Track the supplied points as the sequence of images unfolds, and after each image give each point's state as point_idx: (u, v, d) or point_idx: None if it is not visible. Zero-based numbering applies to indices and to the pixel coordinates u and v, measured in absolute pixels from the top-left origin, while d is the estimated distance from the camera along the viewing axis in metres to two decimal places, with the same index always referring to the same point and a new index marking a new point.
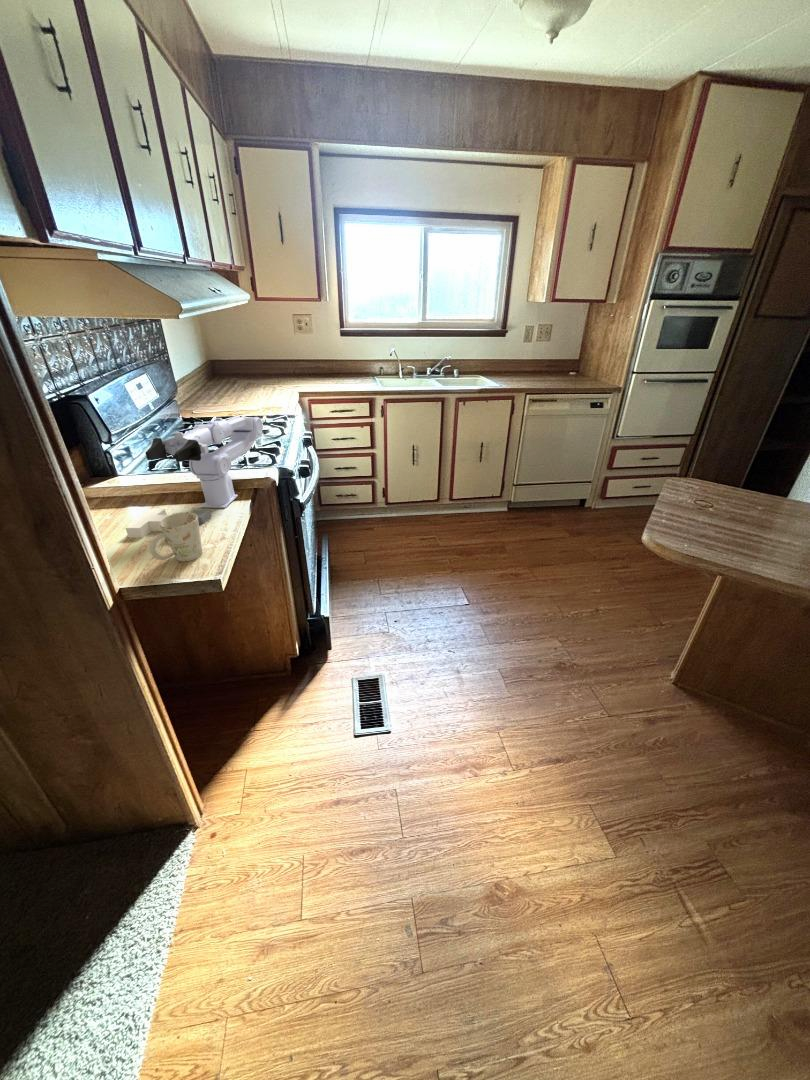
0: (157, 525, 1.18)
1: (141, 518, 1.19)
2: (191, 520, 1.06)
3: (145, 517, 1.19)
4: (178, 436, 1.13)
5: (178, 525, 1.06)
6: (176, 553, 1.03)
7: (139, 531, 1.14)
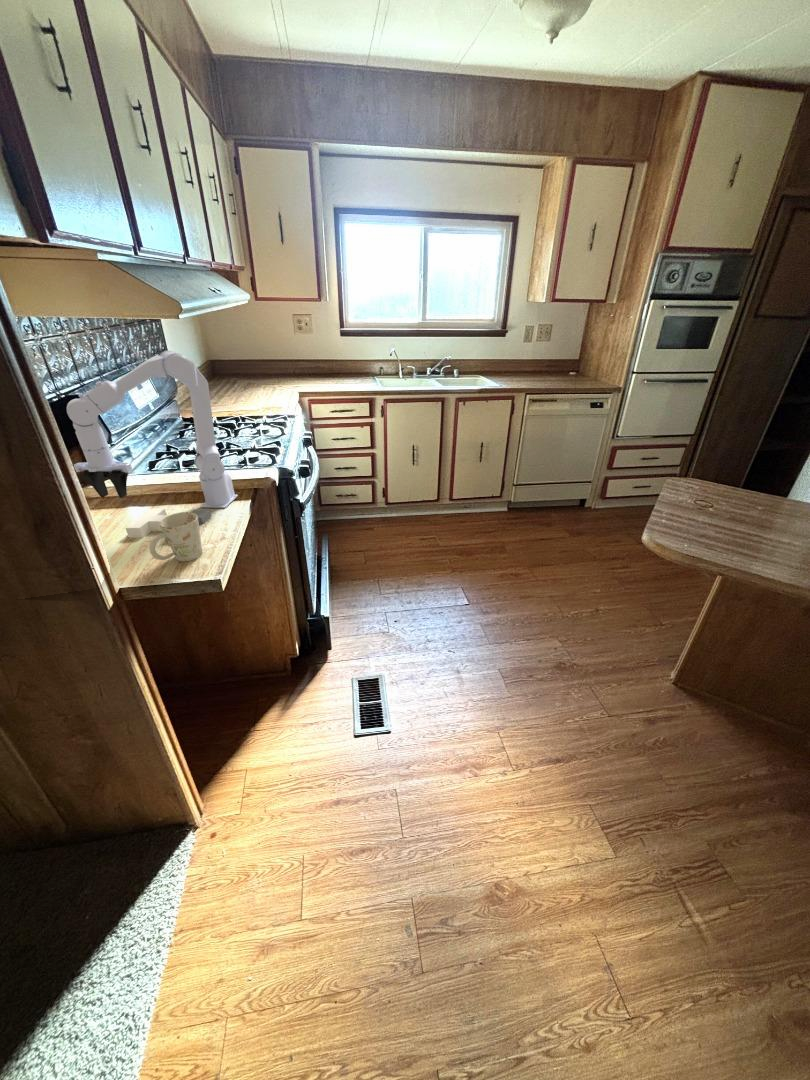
0: (157, 525, 1.18)
1: (141, 518, 1.19)
2: (191, 520, 1.06)
3: (145, 517, 1.19)
4: None
5: (178, 525, 1.06)
6: (176, 553, 1.03)
7: (139, 531, 1.14)
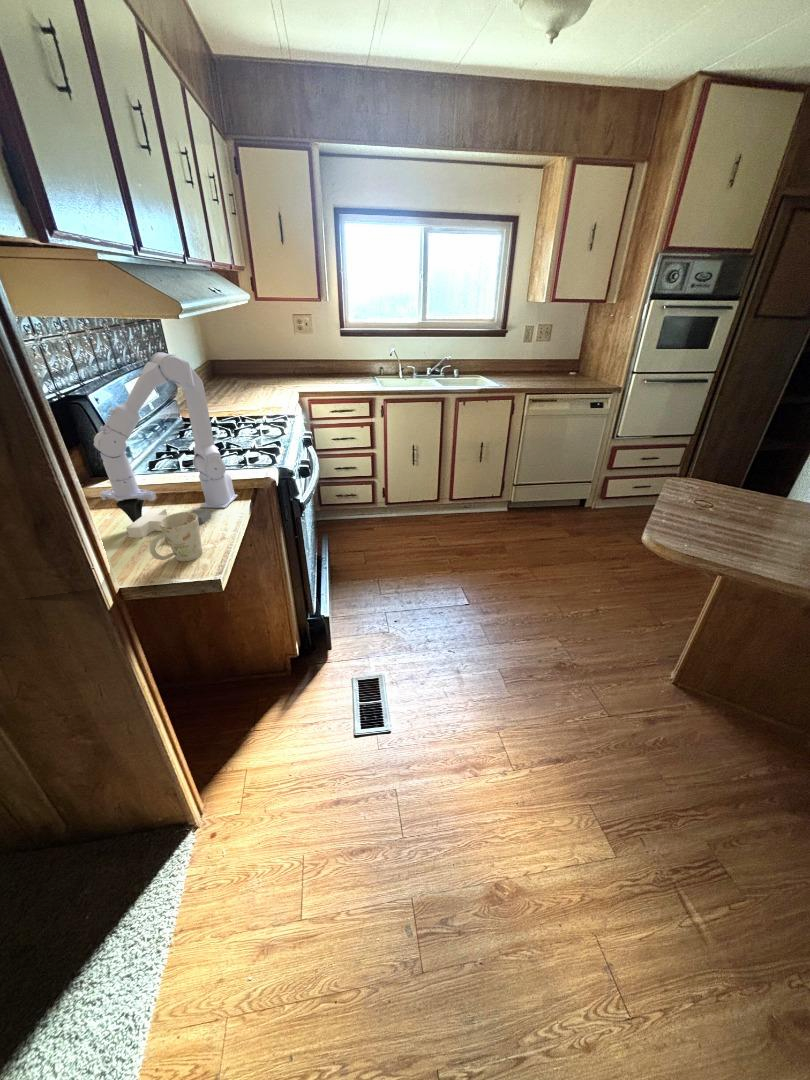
0: (157, 525, 1.17)
1: (142, 518, 1.19)
2: (191, 520, 1.06)
3: (146, 517, 1.19)
4: None
5: (178, 525, 1.06)
6: (176, 553, 1.03)
7: (140, 531, 1.14)
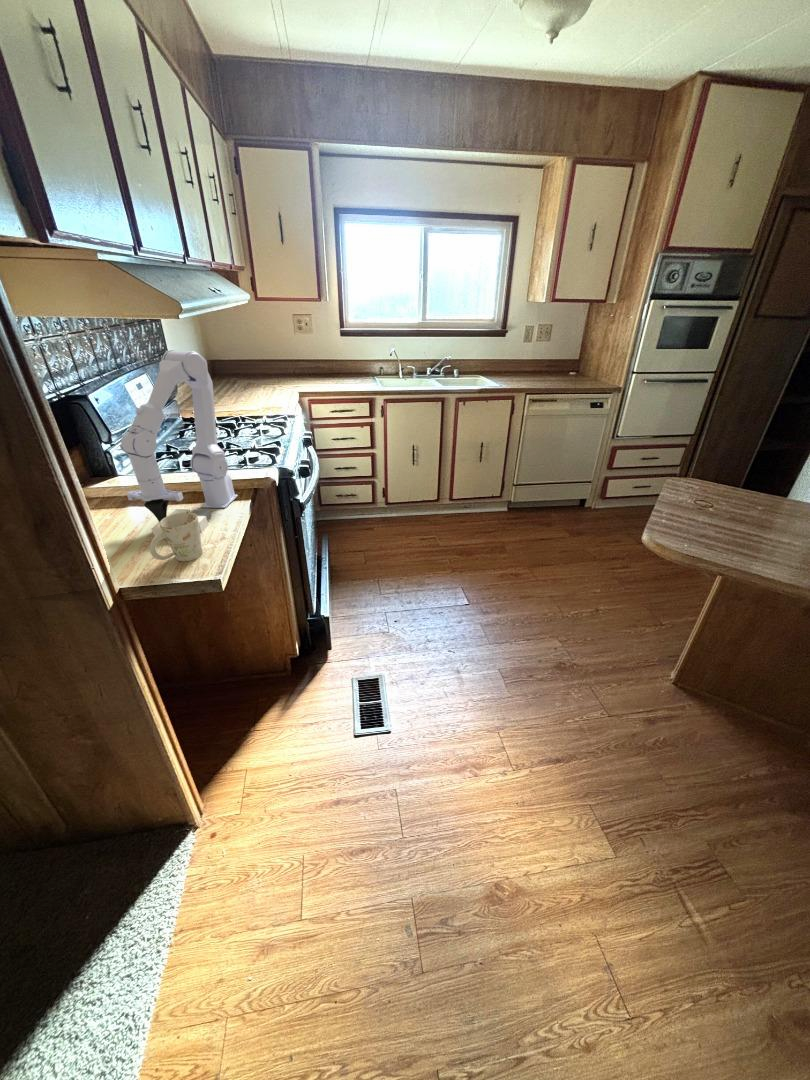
0: None
1: None
2: (191, 520, 1.06)
3: None
4: None
5: (178, 525, 1.06)
6: (176, 553, 1.03)
7: None
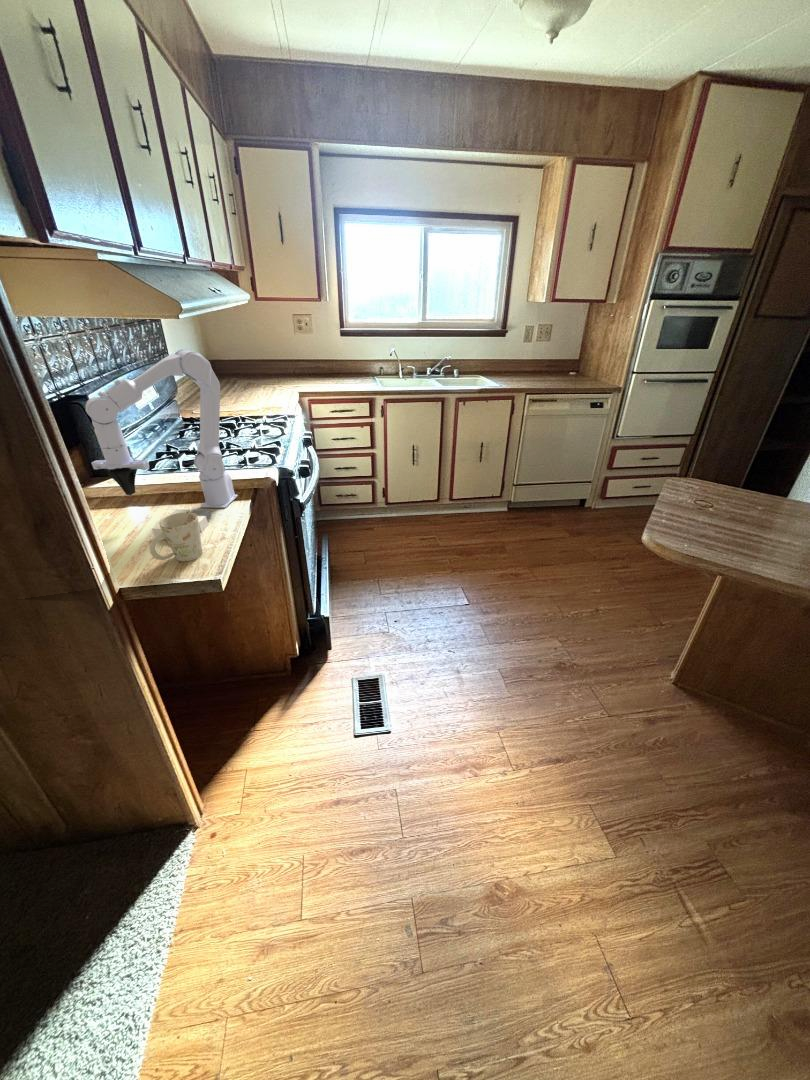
0: None
1: None
2: (191, 520, 1.06)
3: None
4: None
5: (178, 525, 1.06)
6: (176, 553, 1.03)
7: None
